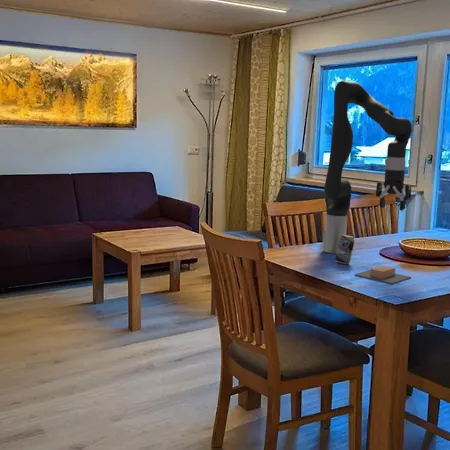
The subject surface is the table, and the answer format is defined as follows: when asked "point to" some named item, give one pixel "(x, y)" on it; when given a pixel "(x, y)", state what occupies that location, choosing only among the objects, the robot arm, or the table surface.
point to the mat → (389, 280)
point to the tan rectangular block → (382, 272)
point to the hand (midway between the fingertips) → (391, 208)
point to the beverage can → (345, 249)
